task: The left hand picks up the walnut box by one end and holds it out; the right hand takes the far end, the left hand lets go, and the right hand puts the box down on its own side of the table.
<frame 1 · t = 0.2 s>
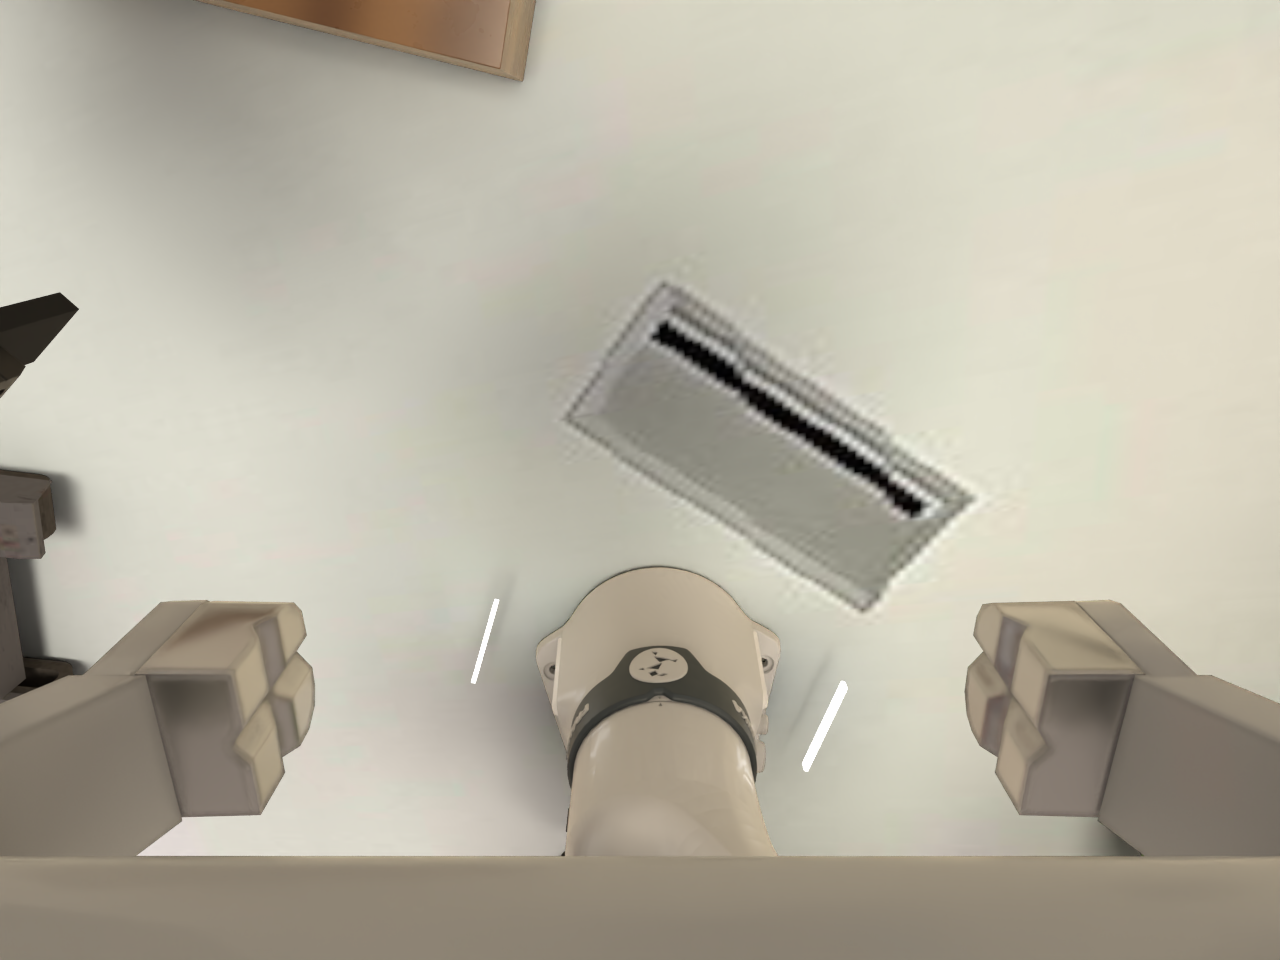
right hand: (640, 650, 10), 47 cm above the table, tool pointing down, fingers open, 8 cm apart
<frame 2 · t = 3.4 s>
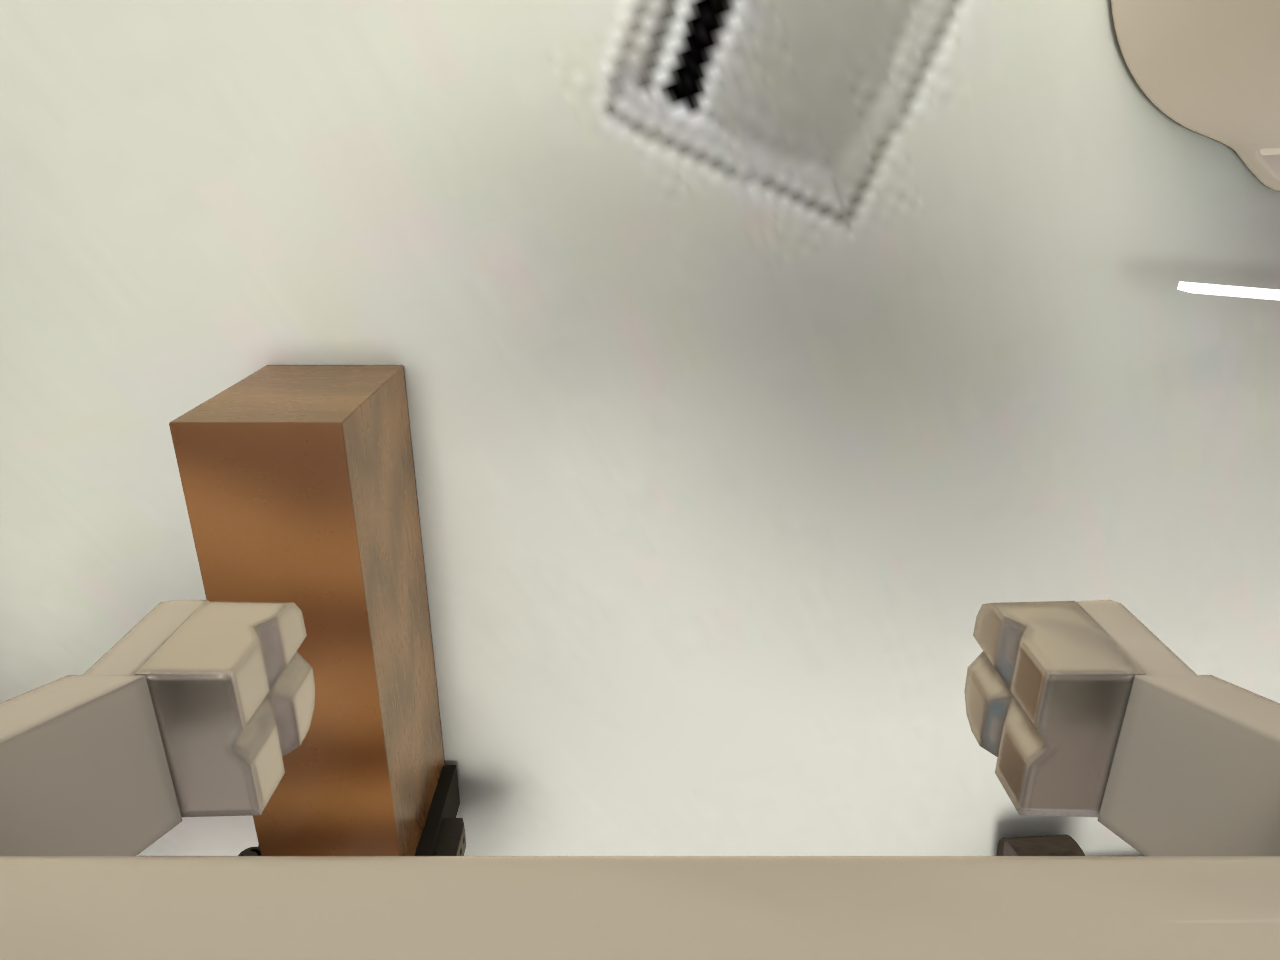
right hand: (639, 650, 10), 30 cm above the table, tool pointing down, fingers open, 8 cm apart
toy: (1139, 951, 54), on the table
box: (369, 620, 45), on the table, touching left hand
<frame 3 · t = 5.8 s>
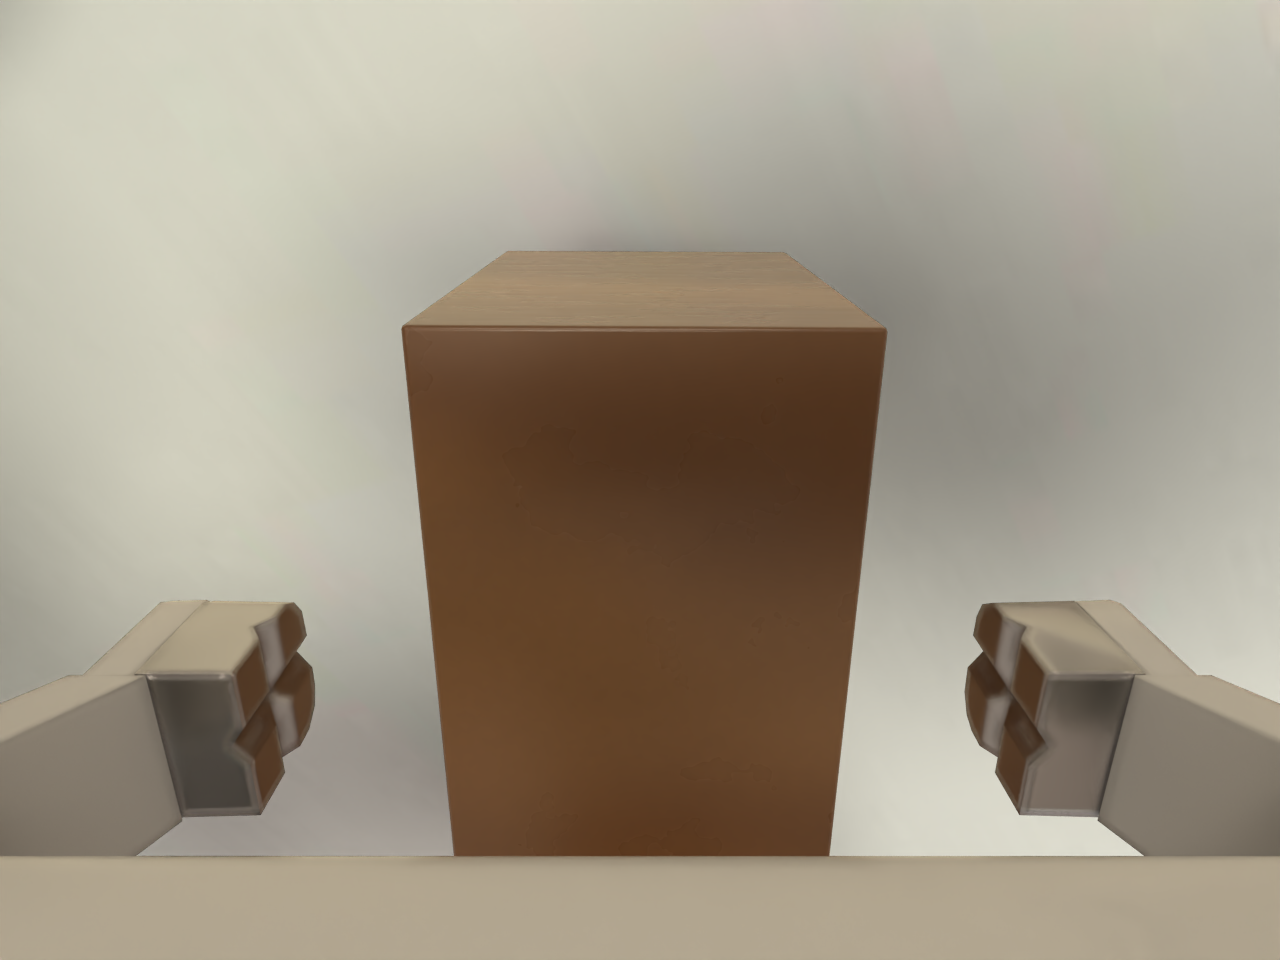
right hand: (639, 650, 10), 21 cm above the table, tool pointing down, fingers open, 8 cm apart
box: (642, 742, 24), point 10 cm above the table, touching left hand
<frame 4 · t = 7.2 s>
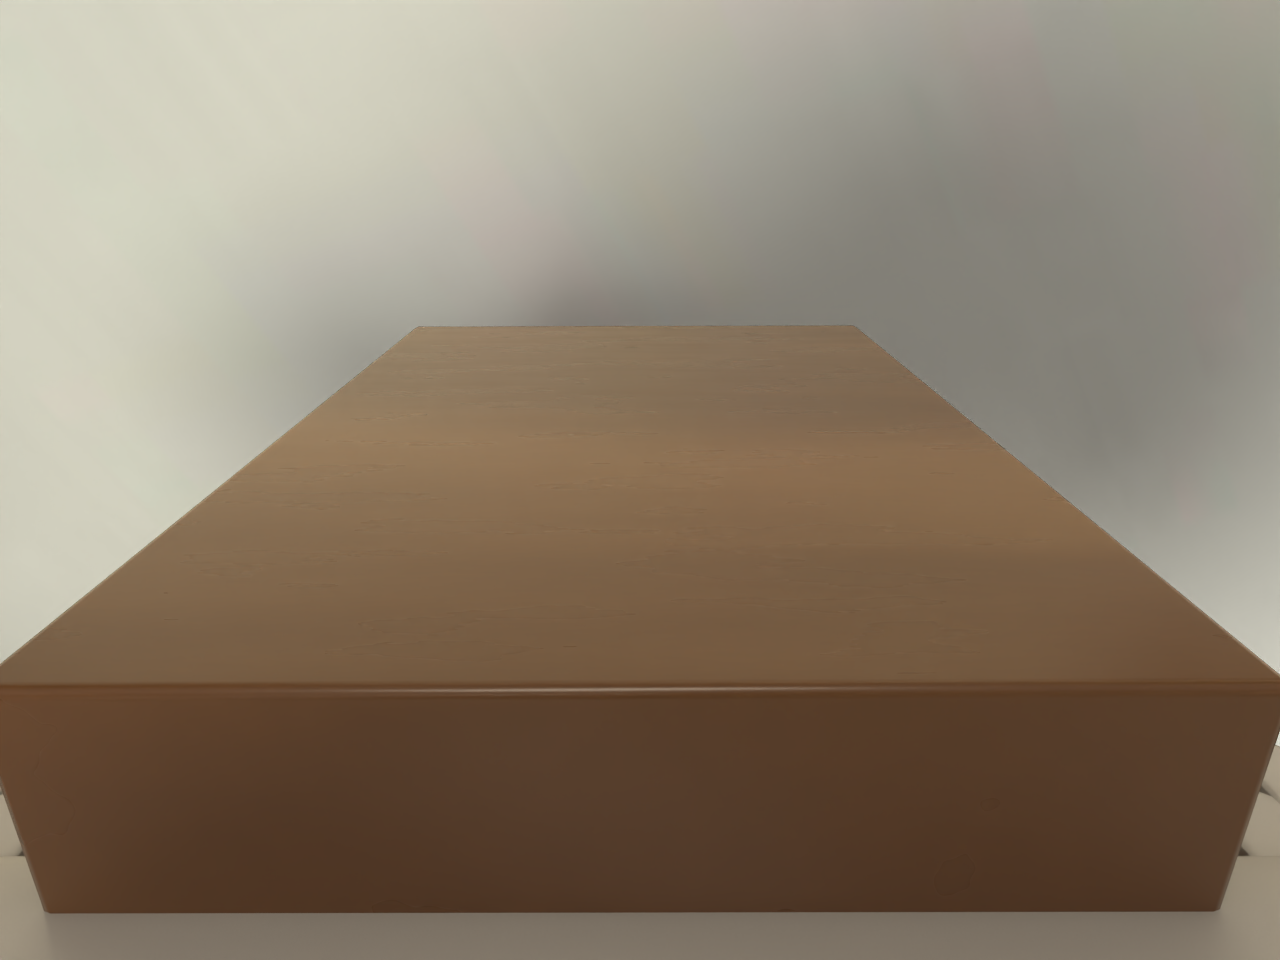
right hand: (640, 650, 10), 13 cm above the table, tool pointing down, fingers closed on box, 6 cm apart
when the left hand's fingers open (10 cm above the table, at t = 8.2 s): box stays where it is, held by the right hand.
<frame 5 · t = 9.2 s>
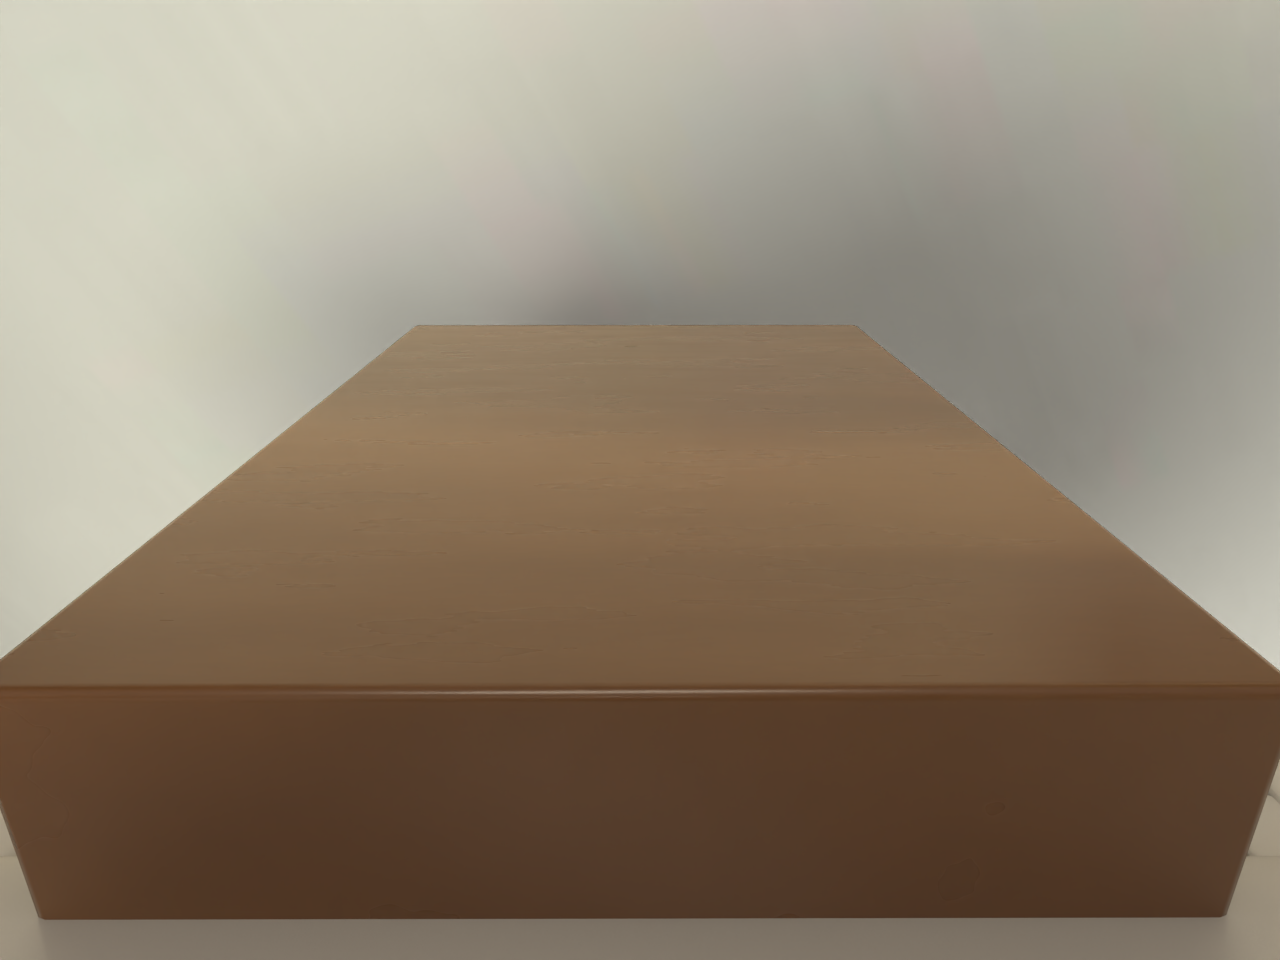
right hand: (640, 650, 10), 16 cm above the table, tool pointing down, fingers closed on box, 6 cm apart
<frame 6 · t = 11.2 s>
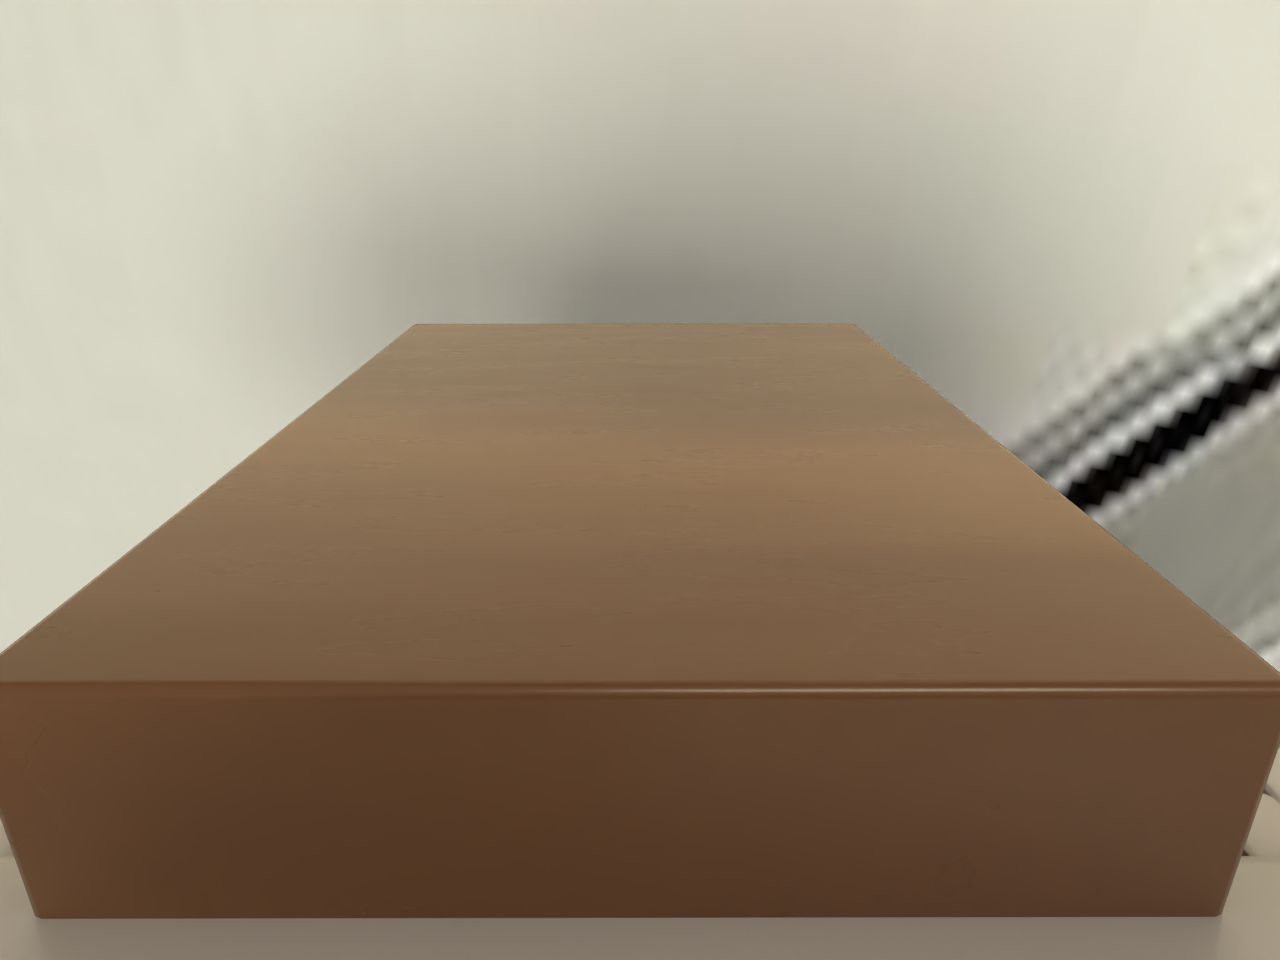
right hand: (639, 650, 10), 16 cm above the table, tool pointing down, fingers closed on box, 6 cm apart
when the right hand's fingers open (5 cm above the table, at t = 15.4 s): box stays where it is, on the table.
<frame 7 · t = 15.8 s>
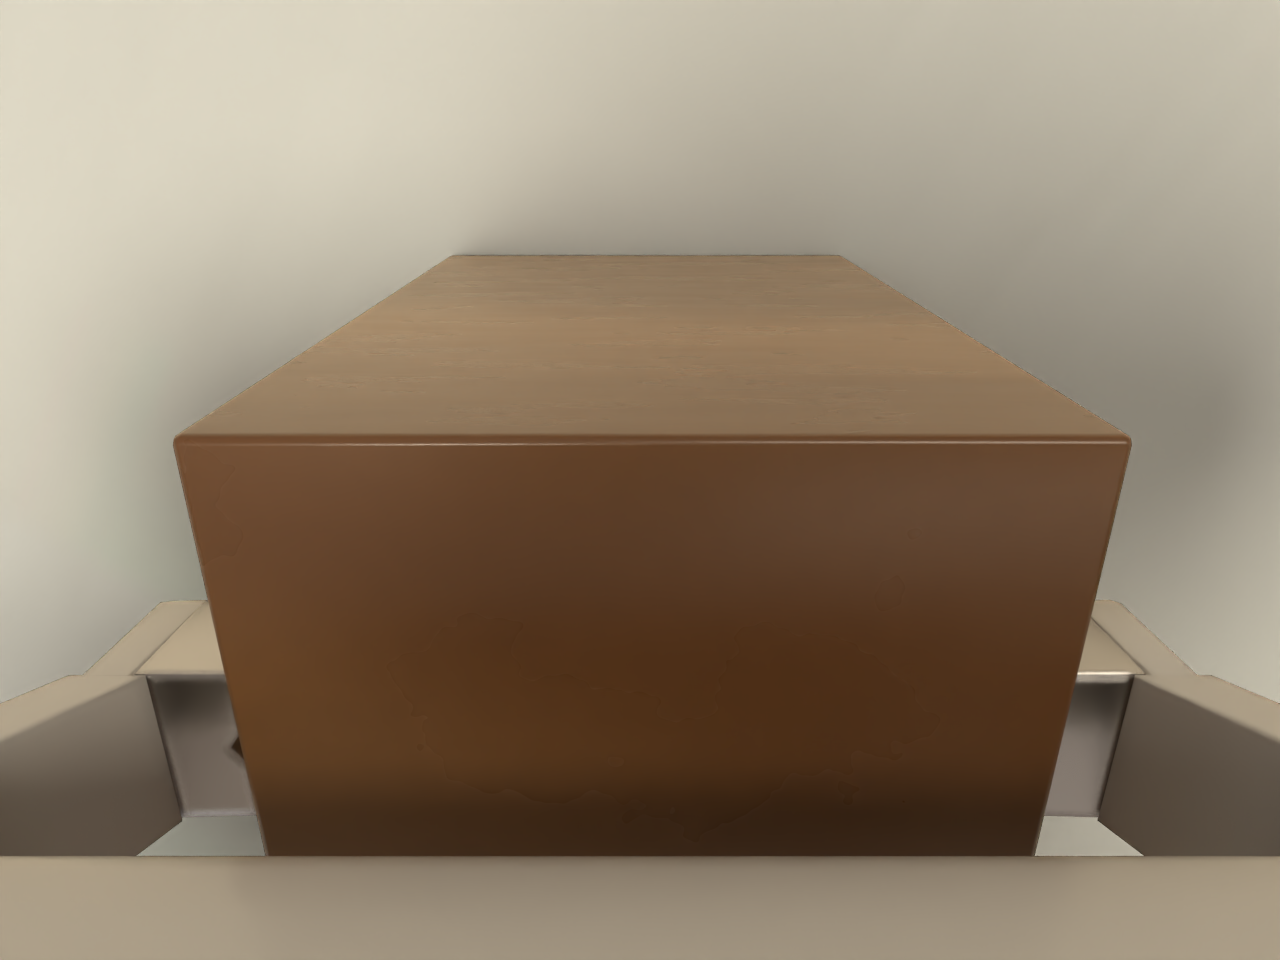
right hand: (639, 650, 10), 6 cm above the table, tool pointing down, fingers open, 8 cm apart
box: (644, 880, 19), on the table
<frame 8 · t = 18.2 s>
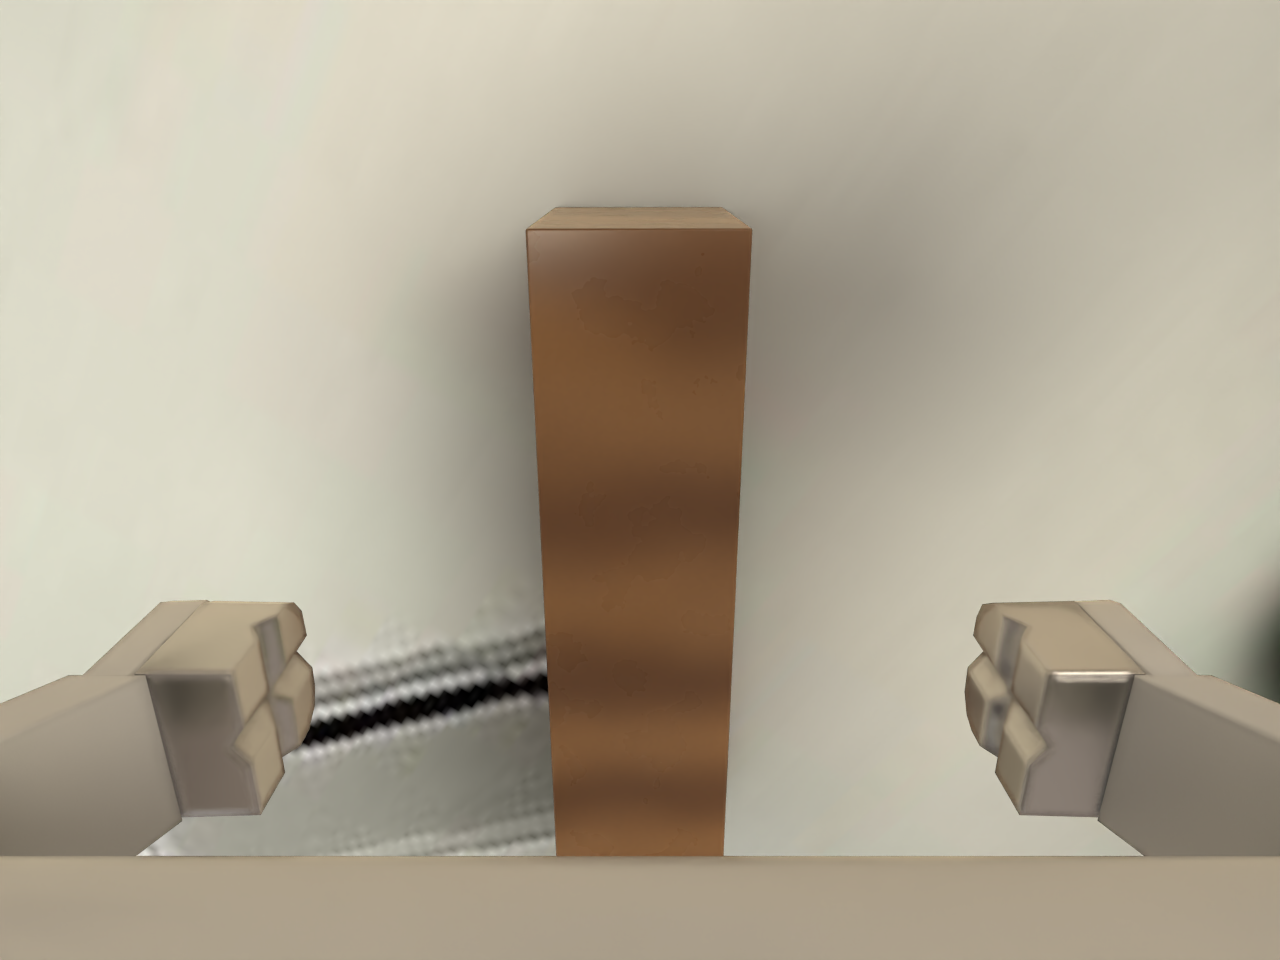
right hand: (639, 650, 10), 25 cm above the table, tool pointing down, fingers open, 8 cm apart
box: (639, 534, 37), on the table
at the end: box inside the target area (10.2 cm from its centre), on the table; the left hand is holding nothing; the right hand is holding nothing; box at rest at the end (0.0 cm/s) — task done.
